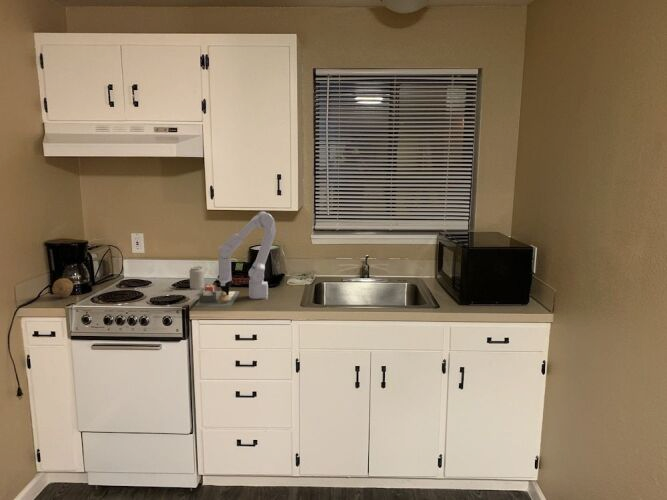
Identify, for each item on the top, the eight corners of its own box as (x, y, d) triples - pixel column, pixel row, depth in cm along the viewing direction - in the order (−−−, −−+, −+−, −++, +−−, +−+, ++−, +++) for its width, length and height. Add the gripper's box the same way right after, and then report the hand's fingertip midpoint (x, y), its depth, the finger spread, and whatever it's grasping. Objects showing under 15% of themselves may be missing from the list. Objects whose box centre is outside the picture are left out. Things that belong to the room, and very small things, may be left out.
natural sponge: (60, 301, 226) (59, 281, 224) (48, 299, 229) (46, 279, 228) (77, 296, 234) (76, 277, 232) (66, 294, 237) (64, 275, 236)
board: (239, 293, 246) (239, 284, 245) (231, 307, 221) (230, 298, 220) (207, 292, 245) (206, 284, 245) (194, 307, 220) (194, 298, 219)
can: (190, 291, 248) (190, 269, 246) (189, 287, 255) (188, 266, 253) (205, 290, 251) (204, 268, 249) (203, 286, 258) (202, 265, 256)
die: (214, 292, 242) (214, 284, 242) (212, 294, 239) (212, 286, 238) (206, 292, 242) (206, 284, 241) (204, 294, 238) (204, 286, 238)
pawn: (229, 300, 229) (229, 290, 228) (227, 303, 224) (227, 293, 223) (219, 300, 229) (219, 290, 228) (217, 303, 224) (216, 292, 223)
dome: (214, 299, 230) (214, 289, 229) (212, 302, 225) (211, 292, 224) (204, 299, 230) (203, 289, 229) (201, 302, 225) (201, 292, 224)
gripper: (219, 266, 235) (220, 292, 238) (213, 273, 221) (214, 300, 224) (233, 266, 236) (234, 292, 238) (229, 273, 221) (229, 300, 224)
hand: (225, 296), depth 231 cm, fingers closed
